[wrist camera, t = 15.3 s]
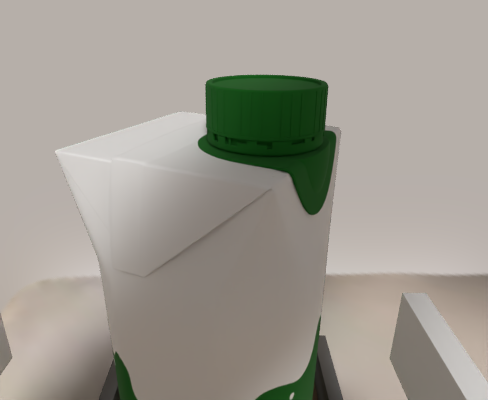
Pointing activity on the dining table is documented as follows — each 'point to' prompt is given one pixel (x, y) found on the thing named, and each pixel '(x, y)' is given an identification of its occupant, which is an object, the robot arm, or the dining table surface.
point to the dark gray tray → (325, 382)
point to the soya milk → (214, 240)
